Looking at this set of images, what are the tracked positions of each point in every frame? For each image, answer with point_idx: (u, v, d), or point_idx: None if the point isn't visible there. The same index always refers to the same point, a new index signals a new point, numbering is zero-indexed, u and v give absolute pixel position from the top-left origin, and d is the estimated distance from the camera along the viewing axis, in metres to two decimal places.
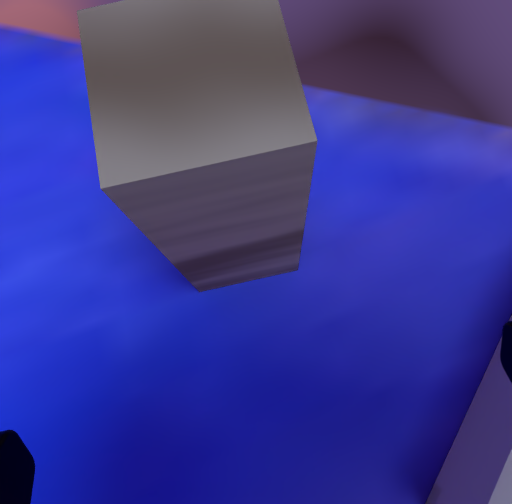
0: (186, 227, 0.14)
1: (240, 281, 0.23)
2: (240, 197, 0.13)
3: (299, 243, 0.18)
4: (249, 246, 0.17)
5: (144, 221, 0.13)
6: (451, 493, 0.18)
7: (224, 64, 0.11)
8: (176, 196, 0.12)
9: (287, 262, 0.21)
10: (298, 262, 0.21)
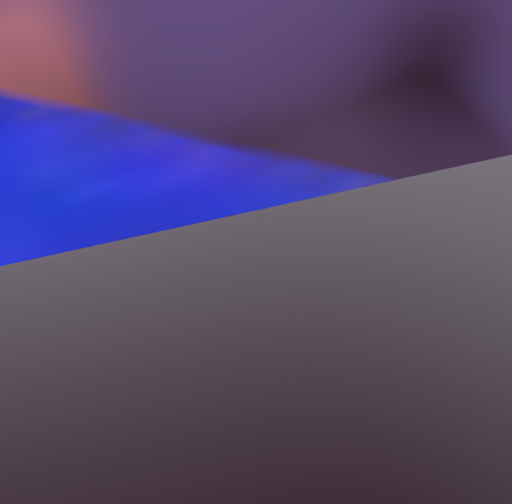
0: None
1: None
2: None
3: None
4: None
5: None
6: None
7: None
8: None
9: None
10: None
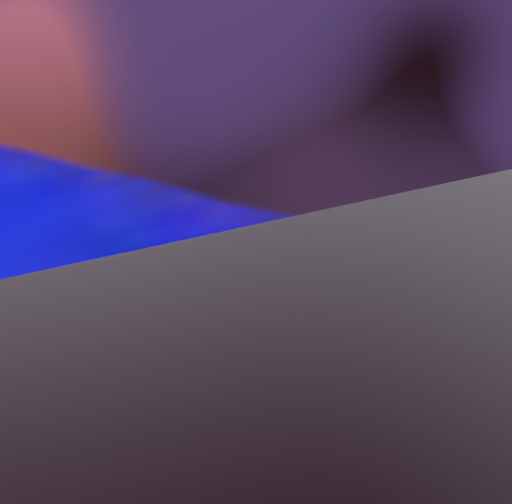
0: None
1: None
2: None
3: None
4: None
5: None
6: None
7: None
8: None
9: None
10: None
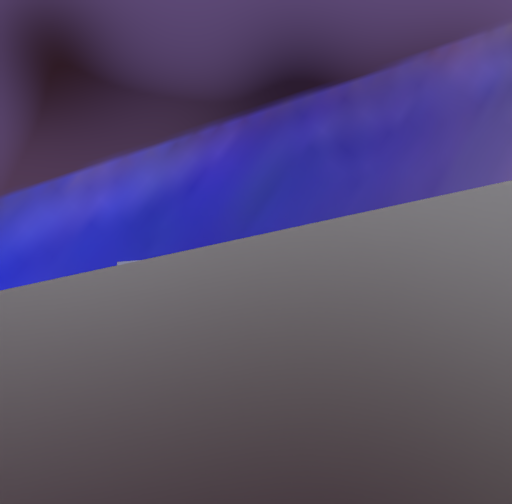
0: None
1: None
2: None
3: None
4: None
5: None
6: None
7: None
8: None
9: None
10: None
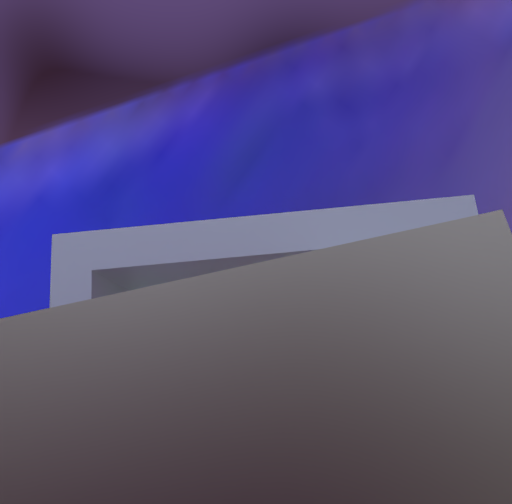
0: None
1: None
2: None
3: None
4: None
5: None
6: None
7: None
8: None
9: None
10: None
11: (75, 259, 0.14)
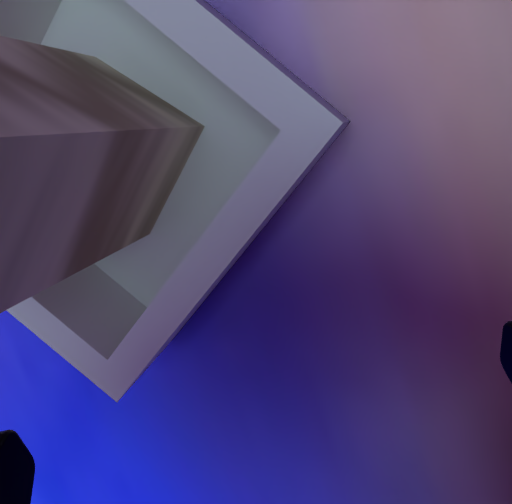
0: None
1: (168, 191, 0.18)
2: None
3: (146, 132, 0.13)
4: (97, 197, 0.13)
5: None
6: None
7: None
8: None
9: (177, 141, 0.16)
10: (189, 127, 0.16)
11: None
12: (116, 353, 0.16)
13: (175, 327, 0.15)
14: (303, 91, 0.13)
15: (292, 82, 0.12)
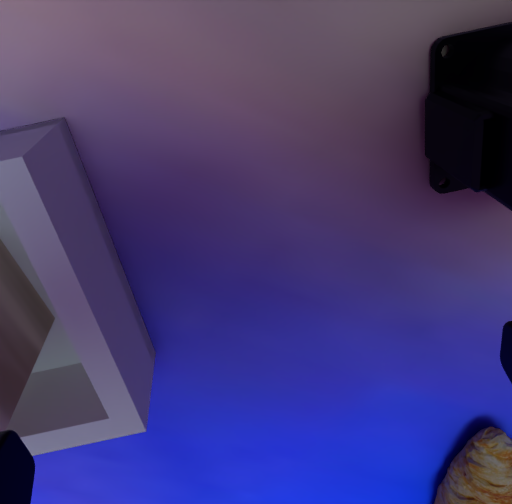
0: None
1: (27, 285, 0.20)
2: None
3: None
4: None
5: None
6: None
7: None
8: None
9: None
10: None
11: None
12: (108, 410, 0.19)
13: (113, 362, 0.18)
14: None
15: None
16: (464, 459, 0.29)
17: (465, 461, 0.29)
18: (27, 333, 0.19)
